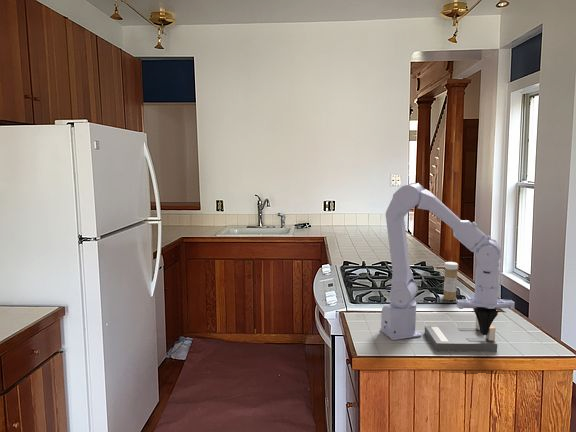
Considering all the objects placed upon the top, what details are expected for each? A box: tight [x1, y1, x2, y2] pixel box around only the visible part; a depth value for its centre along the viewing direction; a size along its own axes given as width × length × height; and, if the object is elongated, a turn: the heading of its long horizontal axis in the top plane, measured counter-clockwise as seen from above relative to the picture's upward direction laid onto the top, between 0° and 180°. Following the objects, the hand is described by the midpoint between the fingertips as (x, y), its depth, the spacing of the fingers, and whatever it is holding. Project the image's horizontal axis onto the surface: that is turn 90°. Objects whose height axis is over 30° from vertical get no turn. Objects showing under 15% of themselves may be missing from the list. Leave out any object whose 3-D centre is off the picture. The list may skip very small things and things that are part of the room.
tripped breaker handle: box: [486, 324, 496, 341], centre depth 120 cm, size 2×2×3 cm, turn 178°
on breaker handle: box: [475, 315, 480, 330], centre depth 127 cm, size 2×2×3 cm, turn 178°
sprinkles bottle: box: [442, 261, 459, 301], centre depth 160 cm, size 5×5×13 cm
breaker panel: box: [424, 325, 498, 353], centre depth 125 cm, size 16×12×2 cm
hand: (483, 333), depth 121 cm, fingers closed
